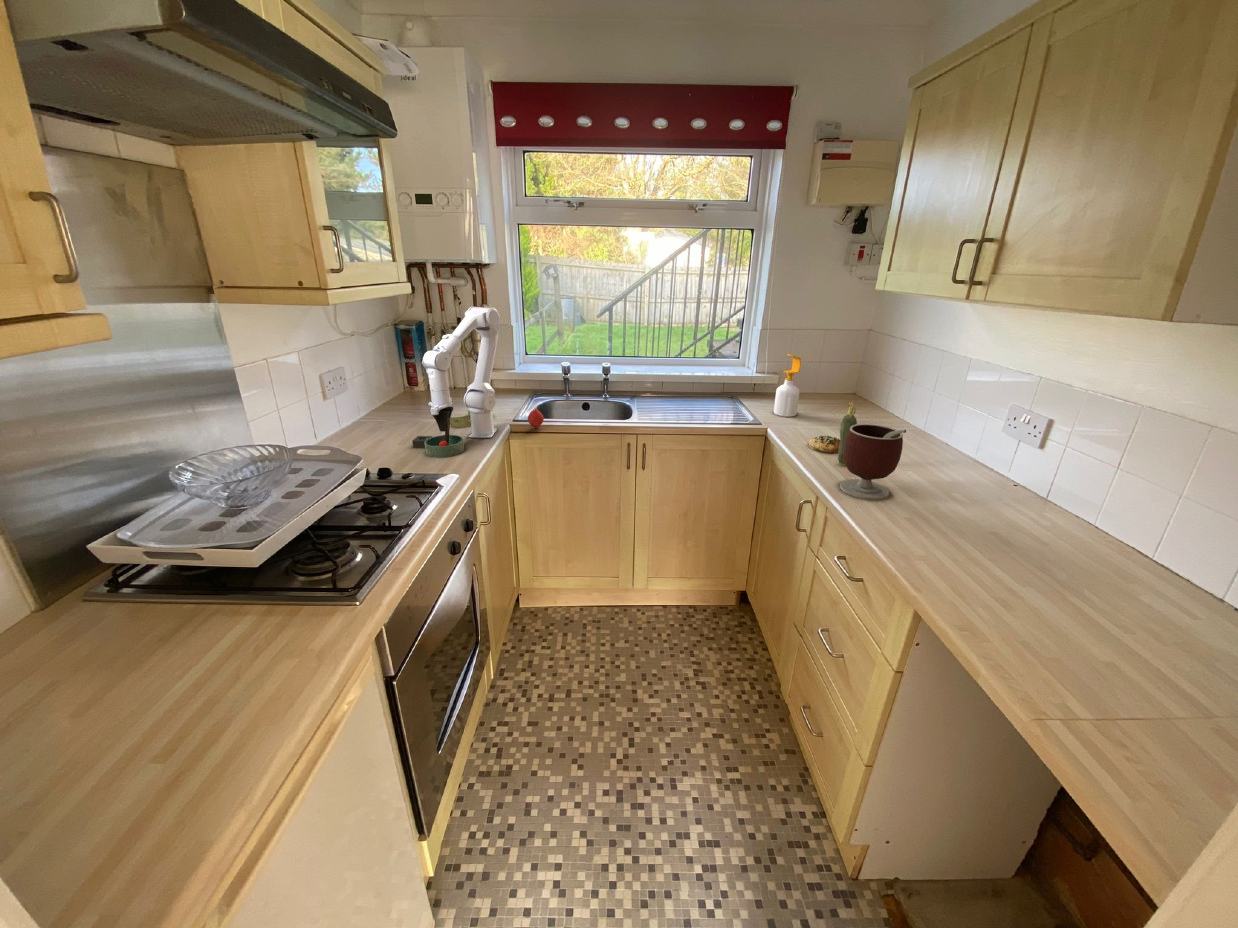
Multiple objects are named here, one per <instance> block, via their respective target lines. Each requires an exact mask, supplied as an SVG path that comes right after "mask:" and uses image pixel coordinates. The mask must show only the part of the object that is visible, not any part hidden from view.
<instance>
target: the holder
mask: <svg viewBox="0 0 1238 928" xmlns="http://www.w3.org/2000/svg"><path fill="white" fill-rule="evenodd" d="M431 437H433V435H416V437H415V438H414V439H412V441H411V443H412V448H413V449H425V444H424V442H425V441H426V440H427V439H429V438H431Z"/></svg>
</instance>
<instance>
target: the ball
mask: <svg viewBox="0 0 1238 928" xmlns="http://www.w3.org/2000/svg"><path fill="white" fill-rule="evenodd" d="M439 446H448V443H447V442H446V441H441V442H440V443H439Z"/></svg>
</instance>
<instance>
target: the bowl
mask: <svg viewBox="0 0 1238 928" xmlns="http://www.w3.org/2000/svg"><path fill="white" fill-rule="evenodd" d="M441 441H445V434H440V435H436V436H435V435H434V436H432V437H431V438H429V439H427V440H426V441H425V442H424V444H425V448H424V451H425V454H426V455H427V456H429V457H433V458H447V457H453V456H456V455H459V454H461V453H463V452H464V451H465V443H464V438H463V436H460V435H457V434H449V445H448V446H439V443H440V442H441Z"/></svg>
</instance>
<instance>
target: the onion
mask: <svg viewBox="0 0 1238 928" xmlns="http://www.w3.org/2000/svg"><path fill="white" fill-rule="evenodd" d="M544 419H545V418H544V415H543V413H542V412H541V411H540V410H538V408H537V407H534V408H533V409H532V410H531V411H530V412H529V414H528V416H527V422H528V424H529V425H530V426H531V427H532V428H534V429H539V427H541V426H542V424H543V423H544Z"/></svg>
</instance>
